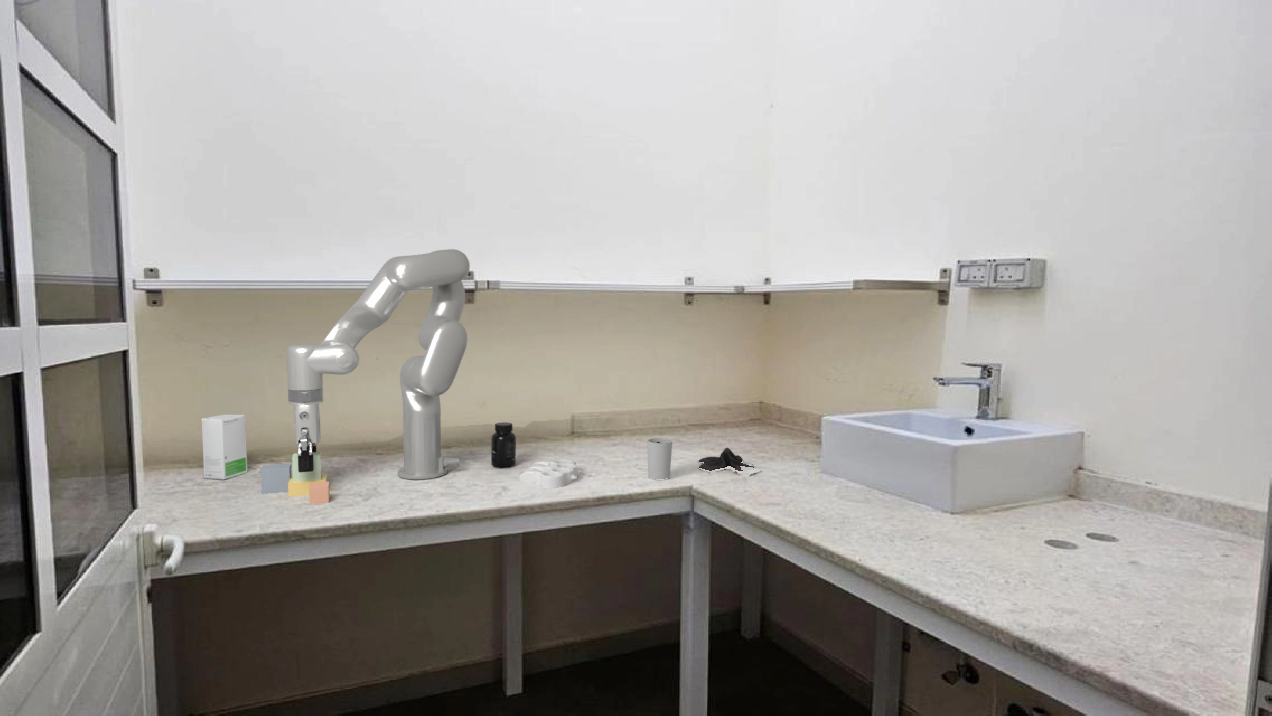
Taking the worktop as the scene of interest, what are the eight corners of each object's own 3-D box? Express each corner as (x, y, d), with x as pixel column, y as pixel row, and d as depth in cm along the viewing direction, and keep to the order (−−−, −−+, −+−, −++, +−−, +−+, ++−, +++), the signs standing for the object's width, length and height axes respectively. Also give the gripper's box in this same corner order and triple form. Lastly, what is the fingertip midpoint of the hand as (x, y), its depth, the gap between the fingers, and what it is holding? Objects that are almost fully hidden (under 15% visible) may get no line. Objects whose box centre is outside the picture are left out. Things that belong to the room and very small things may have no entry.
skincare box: (223, 480, 171) (221, 420, 169) (201, 478, 172) (198, 418, 170) (249, 472, 179) (246, 414, 177) (227, 470, 180) (225, 413, 179)
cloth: (766, 479, 183) (766, 457, 182) (697, 477, 184) (698, 455, 183) (756, 459, 205) (756, 439, 204) (695, 457, 206) (695, 437, 205)
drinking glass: (641, 477, 181) (642, 440, 180) (657, 472, 185) (658, 437, 185) (660, 482, 176) (661, 444, 175) (676, 477, 181) (677, 440, 180)
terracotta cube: (329, 498, 158) (329, 481, 158) (328, 503, 154) (328, 486, 154) (311, 499, 157) (310, 482, 156) (309, 504, 153) (308, 487, 153)
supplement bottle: (486, 467, 188) (486, 424, 187) (500, 461, 195) (500, 420, 193) (507, 469, 186) (507, 427, 185) (520, 464, 192) (520, 422, 191)
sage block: (321, 475, 165) (320, 451, 165) (320, 479, 162) (320, 455, 161) (293, 478, 163) (293, 453, 162) (292, 482, 159) (292, 457, 159)
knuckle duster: (536, 469, 188) (587, 472, 186) (515, 487, 170) (572, 491, 168) (536, 457, 188) (587, 460, 186) (515, 474, 170) (572, 477, 168)
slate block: (292, 487, 166) (291, 463, 165) (290, 492, 162) (289, 467, 162) (264, 489, 164) (263, 465, 163) (261, 494, 160) (260, 469, 159)
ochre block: (327, 488, 167) (326, 474, 167) (325, 495, 161) (325, 480, 161) (291, 491, 164) (290, 477, 164) (288, 498, 159) (288, 483, 158)
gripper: (320, 401, 154) (322, 474, 156) (325, 390, 170) (326, 457, 172) (284, 402, 151) (286, 477, 153) (291, 391, 167) (293, 459, 169)
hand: (307, 466), depth 162 cm, fingers open, 9 cm apart
